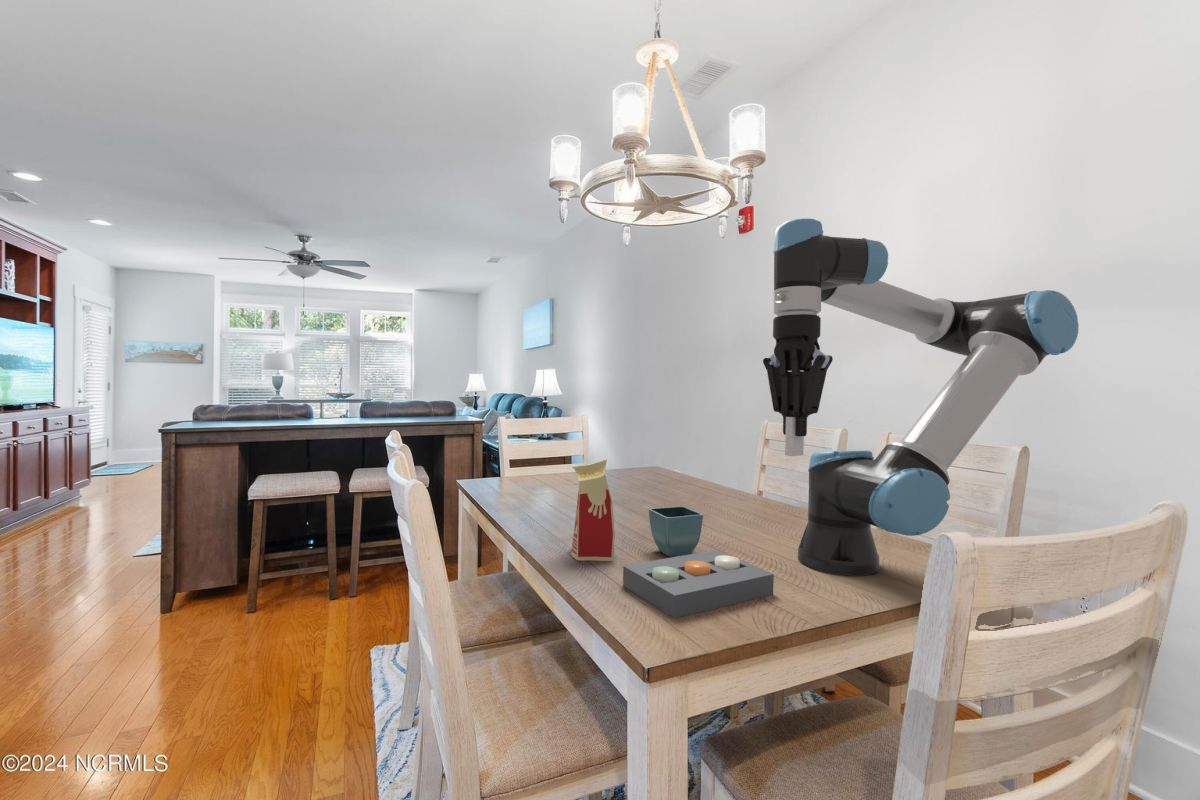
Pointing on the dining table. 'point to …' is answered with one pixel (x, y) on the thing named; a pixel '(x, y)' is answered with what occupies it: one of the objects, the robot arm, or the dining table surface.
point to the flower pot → (675, 529)
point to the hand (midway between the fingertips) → (794, 455)
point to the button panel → (697, 584)
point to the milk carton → (593, 515)
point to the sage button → (665, 574)
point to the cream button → (727, 562)
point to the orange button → (697, 568)
